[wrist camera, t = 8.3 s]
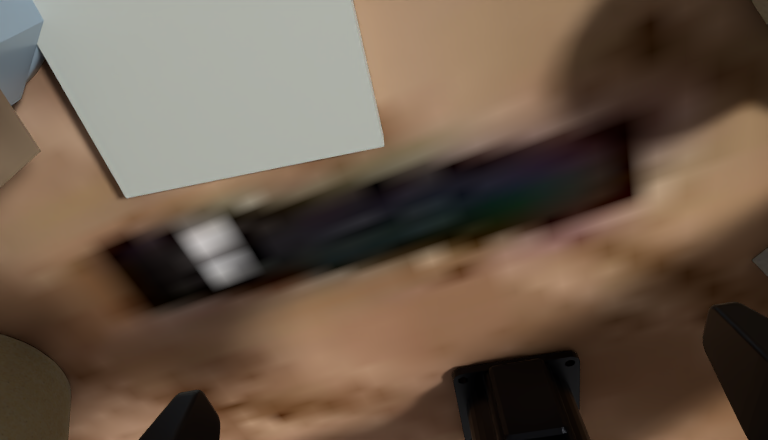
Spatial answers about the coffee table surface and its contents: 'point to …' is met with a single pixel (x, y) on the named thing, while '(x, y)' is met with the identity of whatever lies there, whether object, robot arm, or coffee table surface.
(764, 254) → the tall grey upright box
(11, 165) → the lid
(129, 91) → the mat
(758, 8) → the ceramic mug
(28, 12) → the bowl
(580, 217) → the coffee table surface
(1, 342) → the plant pot
